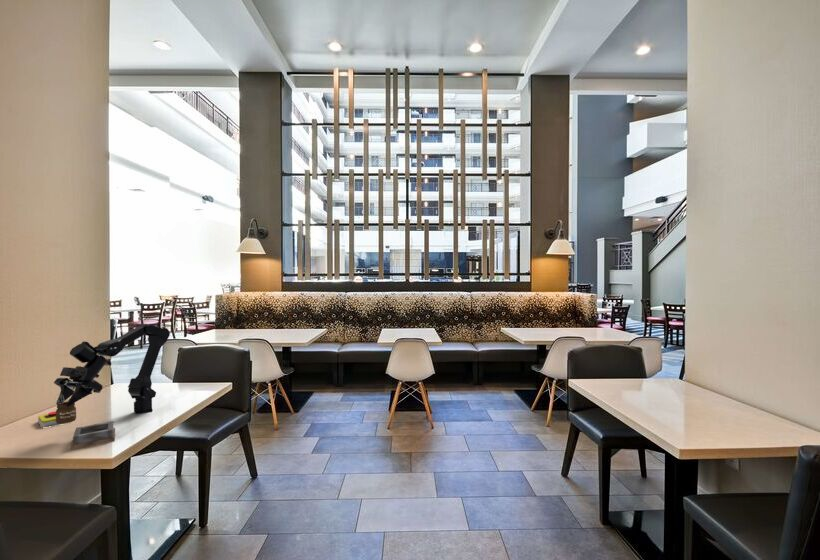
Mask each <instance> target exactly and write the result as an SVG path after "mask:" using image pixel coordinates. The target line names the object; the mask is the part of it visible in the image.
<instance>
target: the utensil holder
mask: <svg viewBox="0 0 820 560" xmlns="http://www.w3.org/2000/svg"><path fill="white" fill-rule="evenodd" d="M73 391H74V392H75V389H73ZM59 395H60V393H58V394H56V395H55V397H57V398H56V399H58V398H59ZM63 399H64V398H63ZM55 401H56V402H57V400H55ZM61 401H62V400H61ZM58 402H59V401H58ZM58 402H57V403H58ZM67 402H68V401H64V402H63V403H59V404H58V405H57V404H56V408H57V409H56V410H55V411H56V423H57V424H65V423H69V424H71V423H70V422H72V423H73V422H75V421H76V419H77V408H76V405H75V404H76V402H75V403H73V404H72V405H70V406H67V405H66V404H67ZM65 425H66V424H65Z"/></svg>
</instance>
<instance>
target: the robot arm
mask: <svg viewBox="0 0 820 560" xmlns="http://www.w3.org/2000/svg"><path fill="white" fill-rule="evenodd" d="M170 334H171V332H170V330H169V329H168V328H166V327H159V326H154V325H151V324H146V323H145V324H143V323H141V324H139V325H138V326H136V327H135V328H133V329H131V330H129V331H127V332H126V333H123V335H120V336H119V337H116V338H114V339H109V340H106V341H103V342H100V343H99V344H98V345H96V346H93V345H91V344H90V342H88V341H85V340H84V341H82V342H81V343H79V344H76V346H74V347H72V348H71V350H70V351H69V355H70V356H71V357H73V358H74V359H75V360H78V362H80V363H82V364H84V366H80V365H79V366H77V365H76V367H66V366H64V367H62V370H61V371H60V374H59V376H60V377H58V378H56V379H55V380H54V381H53V384H54V385H56V386H57V387H59V389H60V392H59V395H58V397H59V398H57V399H56V401H57V402H58V401H59V402H58V403H57V402H56V403H55V405H56V406H57V405H58V404H59V403H63V402H67V404H66V405H67V406H70V405H72V404H73V403H75V404H76V402H78V401H79V400H82V399H85V397H88V396H89V395H92V394H93V393H94V394H95V393H97V394H100V393H101V391H102V390H103V388H104V386H103V384H101V383H100V382H99V381H97V380H95V378H99V377H100V375H99V373H100V372H101V371H102V369H103V368H104V367H105V366H109V367H111V366H112V361H111V358H106V357H116V356H117V355H118V354H120V353H121V352H122V351H123V349H124V348H125V347H126V346H127V345H128V346H129V345H130V344H131V343H133V342H134V341H136V340H139V338H141V337H143V336H146V337H147V341H148V347H147V350H146V352H145V356H144V358H143V361H142V364H141V367H140V369H139V372H138V375H137V376H136V377H135V378H134V377H133V378H132V377H131V378H130V382H129V384H128V386H127V388H128V389H127V392H128V394H129V395H130V397H131V399H134V400H135V401H133V412H134V413H135V415H137V414H138V415H139V414H143V413H150V412H153V398H156V395H157V392H156V391H155V390H154V389H153V388H152V385H153V384H152V378H151V376H152V374H153V371H154V368H155V366H156V362H157V359H158V356H159V353H160V351H161V348H162V346H163V345H165V344H166V343H167V341H168V340H169V338H170ZM68 377H69V378H68ZM74 390H75V392H74ZM63 398H64V399H63ZM61 400H62V401H61Z"/></svg>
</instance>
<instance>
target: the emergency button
mask: <svg viewBox="0 0 820 560" xmlns="http://www.w3.org/2000/svg"><path fill="white" fill-rule="evenodd" d="M37 421H38V422H37V423H38V424H40V425H41V426H42V427H49V426H51V428H55V426H56V427H60V426H61V425H60V424H57V423H56V410H55V411H51V412H48V413H45V414H41V415H38V418H37ZM72 423H73V422H70V423H69V424H72ZM69 424H68V423H65V425H69ZM40 425H39V426H40ZM59 425H60V426H59ZM41 426H40V427H41ZM42 427H41V428H42ZM48 429H50V427H49V428H48Z"/></svg>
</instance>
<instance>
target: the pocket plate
mask: <svg viewBox="0 0 820 560" xmlns="http://www.w3.org/2000/svg"><path fill="white" fill-rule="evenodd" d="M115 437H116V428H115V427H114V420H112V421H107V422H101V423H96V424H89V425H85V426H77V427H75V430H74V433H73V436H72V442H71V445H70V449H71V450H77V449H81V448H85V447H89V446H90V447H91V446H96V445H102V444H105V443H106V444H107V443H110V442H111V443H112V442H115Z"/></svg>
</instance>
